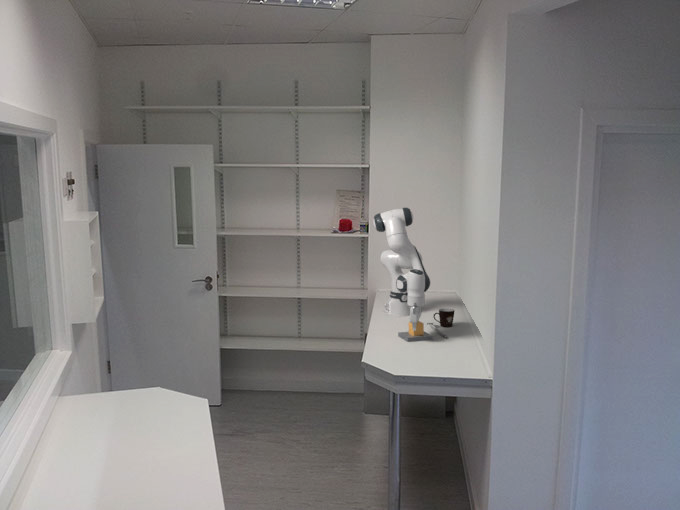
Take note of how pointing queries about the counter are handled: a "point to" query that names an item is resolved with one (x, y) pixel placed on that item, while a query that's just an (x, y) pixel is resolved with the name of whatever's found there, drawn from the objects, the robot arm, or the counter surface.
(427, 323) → the caliper
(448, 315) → the coffee mug
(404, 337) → the flat gray plate
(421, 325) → the tan wooden cube
